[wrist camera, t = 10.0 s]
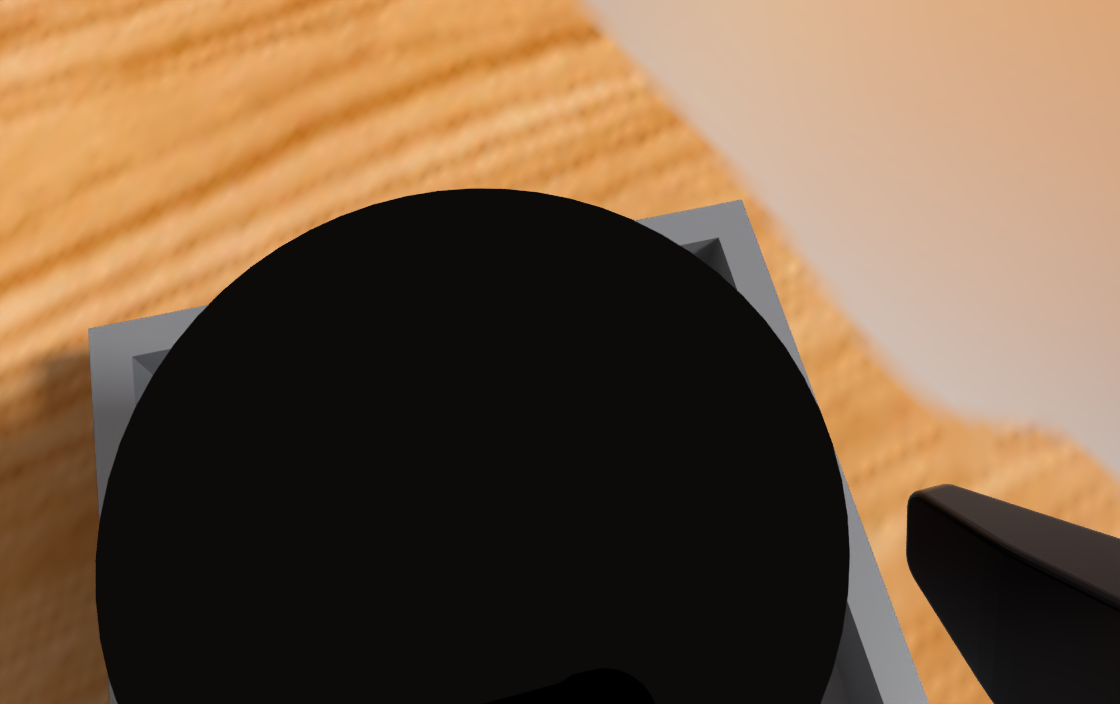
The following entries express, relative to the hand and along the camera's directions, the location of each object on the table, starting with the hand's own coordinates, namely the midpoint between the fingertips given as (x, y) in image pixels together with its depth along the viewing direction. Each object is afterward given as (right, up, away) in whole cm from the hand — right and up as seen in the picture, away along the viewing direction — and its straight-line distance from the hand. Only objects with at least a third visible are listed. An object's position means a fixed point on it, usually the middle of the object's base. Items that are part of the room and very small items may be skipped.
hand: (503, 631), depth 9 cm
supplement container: (-1, -2, +9) cm, 9 cm away
